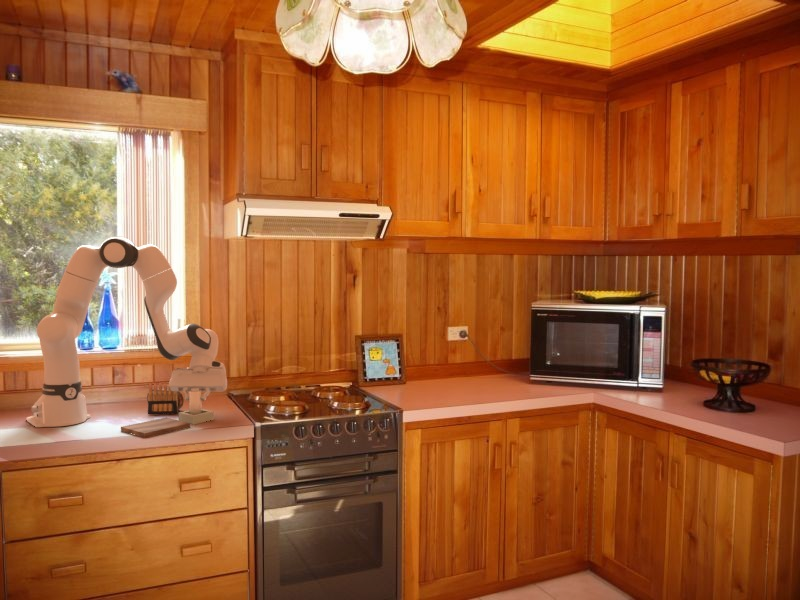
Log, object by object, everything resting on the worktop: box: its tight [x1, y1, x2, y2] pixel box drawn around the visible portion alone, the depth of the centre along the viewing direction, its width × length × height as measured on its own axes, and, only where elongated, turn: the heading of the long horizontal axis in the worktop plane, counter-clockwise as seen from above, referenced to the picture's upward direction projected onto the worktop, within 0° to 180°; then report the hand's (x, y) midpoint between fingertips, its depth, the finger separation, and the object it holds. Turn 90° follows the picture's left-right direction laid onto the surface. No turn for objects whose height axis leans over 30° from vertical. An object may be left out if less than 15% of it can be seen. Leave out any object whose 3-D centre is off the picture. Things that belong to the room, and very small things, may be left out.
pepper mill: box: [188, 387, 202, 415], centre depth 231 cm, size 4×4×10 cm
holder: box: [178, 408, 215, 425], centre depth 231 cm, size 9×9×3 cm
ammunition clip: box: [147, 381, 179, 415], centre depth 242 cm, size 11×2×12 cm, turn 95°
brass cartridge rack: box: [146, 387, 185, 411], centre depth 248 cm, size 15×3×8 cm, turn 72°
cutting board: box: [120, 416, 191, 439], centre depth 219 cm, size 14×17×2 cm
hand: (194, 399), depth 230 cm, fingers closed on pepper mill, 4 cm apart
